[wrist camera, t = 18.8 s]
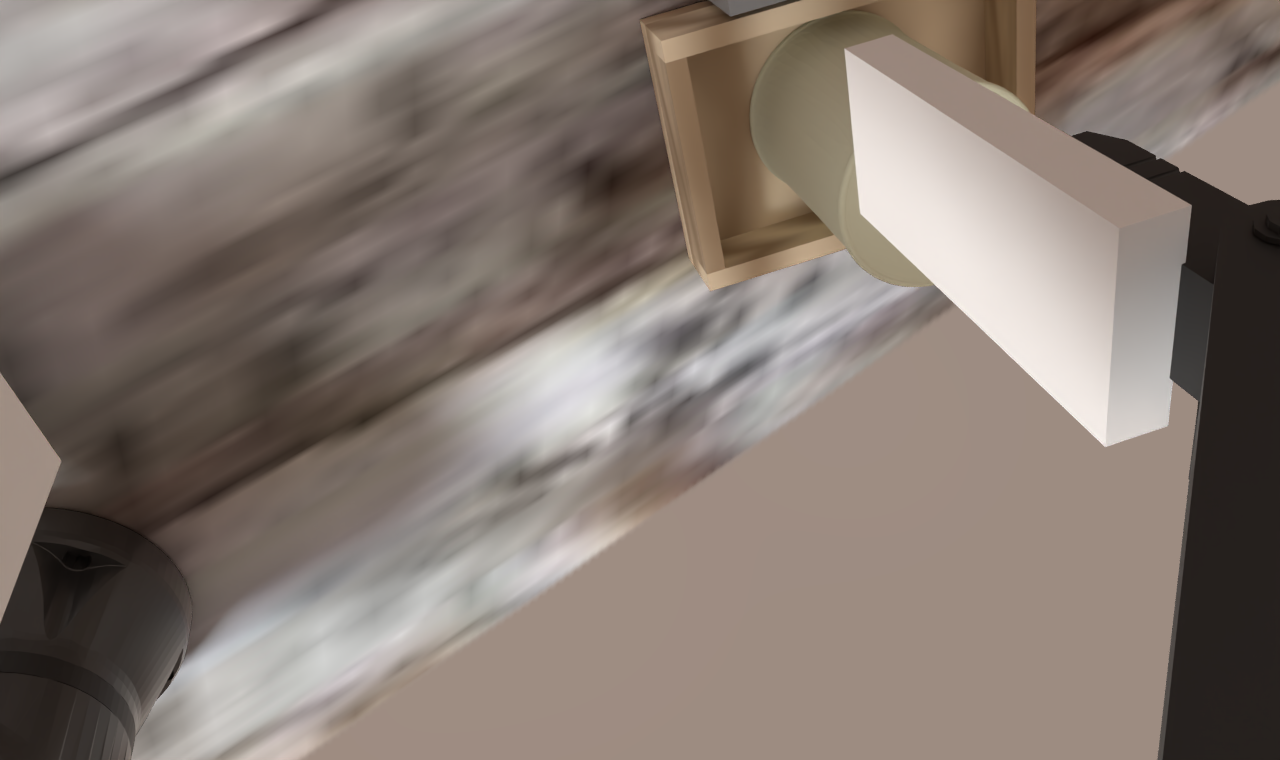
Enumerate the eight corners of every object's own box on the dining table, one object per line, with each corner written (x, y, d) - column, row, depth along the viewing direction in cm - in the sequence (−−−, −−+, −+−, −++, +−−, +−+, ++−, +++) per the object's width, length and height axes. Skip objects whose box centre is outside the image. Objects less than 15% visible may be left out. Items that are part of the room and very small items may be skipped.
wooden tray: (688, 257, 56) (710, 291, 53) (639, 19, 49) (660, 41, 46) (994, 163, 58) (1034, 190, 54) (991, -82, 50) (1037, -68, 47)
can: (951, 44, 52) (1092, 122, 42) (868, 209, 56) (979, 314, 46) (797, -18, 49) (911, 50, 39) (719, 162, 53) (805, 265, 43)
